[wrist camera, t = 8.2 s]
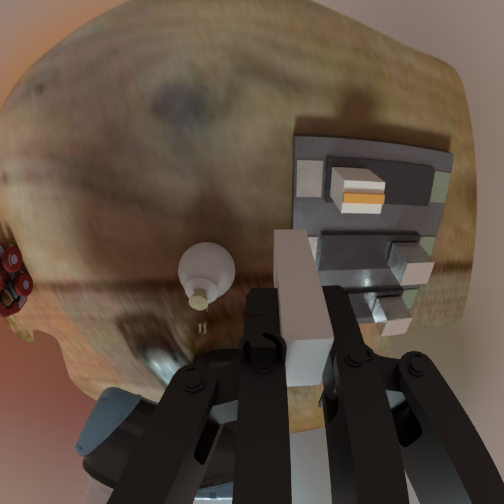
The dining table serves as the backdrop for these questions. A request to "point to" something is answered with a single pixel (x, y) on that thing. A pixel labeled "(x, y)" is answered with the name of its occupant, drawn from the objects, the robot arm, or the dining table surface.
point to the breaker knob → (357, 190)
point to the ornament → (205, 274)
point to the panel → (372, 222)
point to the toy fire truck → (12, 282)
